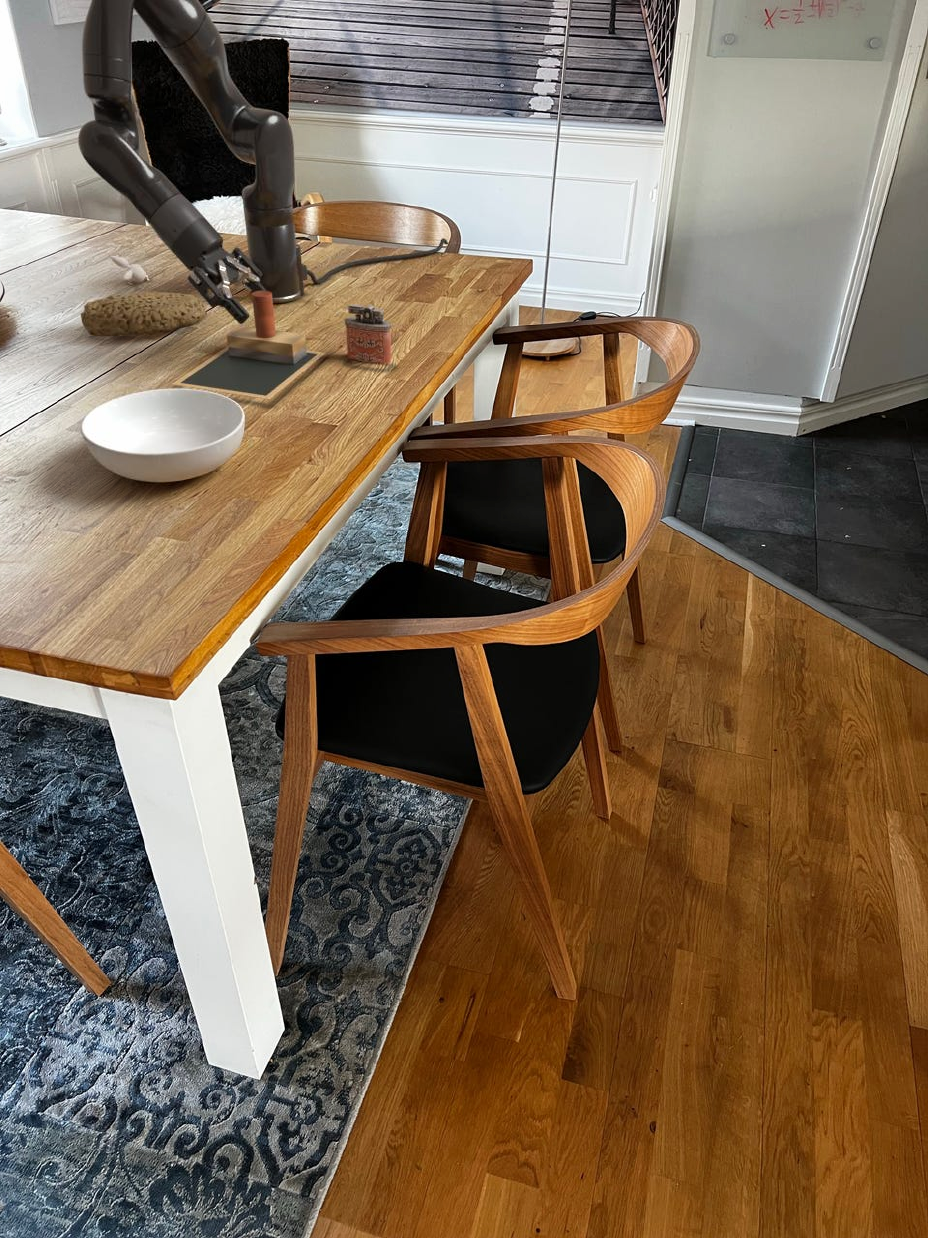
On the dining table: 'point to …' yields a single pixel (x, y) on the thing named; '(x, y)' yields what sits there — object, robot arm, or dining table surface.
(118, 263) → the rabbit figurine
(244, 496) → the dining table surface
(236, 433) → the serving bowl
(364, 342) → the lighter
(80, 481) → the dining table surface
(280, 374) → the board
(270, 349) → the eraser
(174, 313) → the sponge
